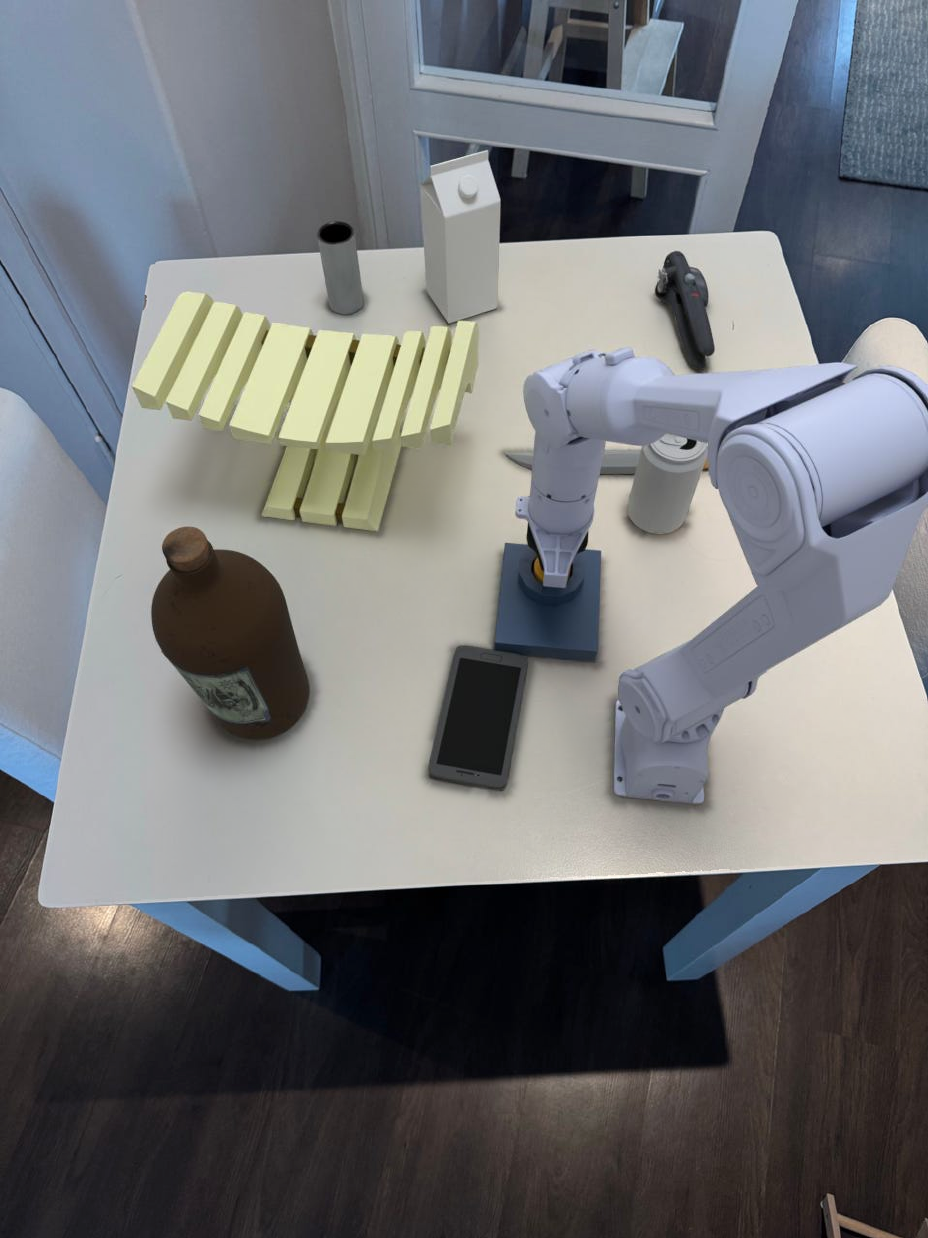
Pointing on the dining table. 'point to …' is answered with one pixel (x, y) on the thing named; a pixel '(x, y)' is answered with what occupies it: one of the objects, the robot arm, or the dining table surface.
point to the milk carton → (461, 236)
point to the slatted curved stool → (311, 399)
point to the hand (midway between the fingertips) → (552, 566)
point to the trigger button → (541, 572)
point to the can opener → (687, 306)
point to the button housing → (548, 608)
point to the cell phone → (479, 717)
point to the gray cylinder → (340, 267)
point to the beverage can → (665, 483)
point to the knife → (610, 464)
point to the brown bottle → (229, 636)
